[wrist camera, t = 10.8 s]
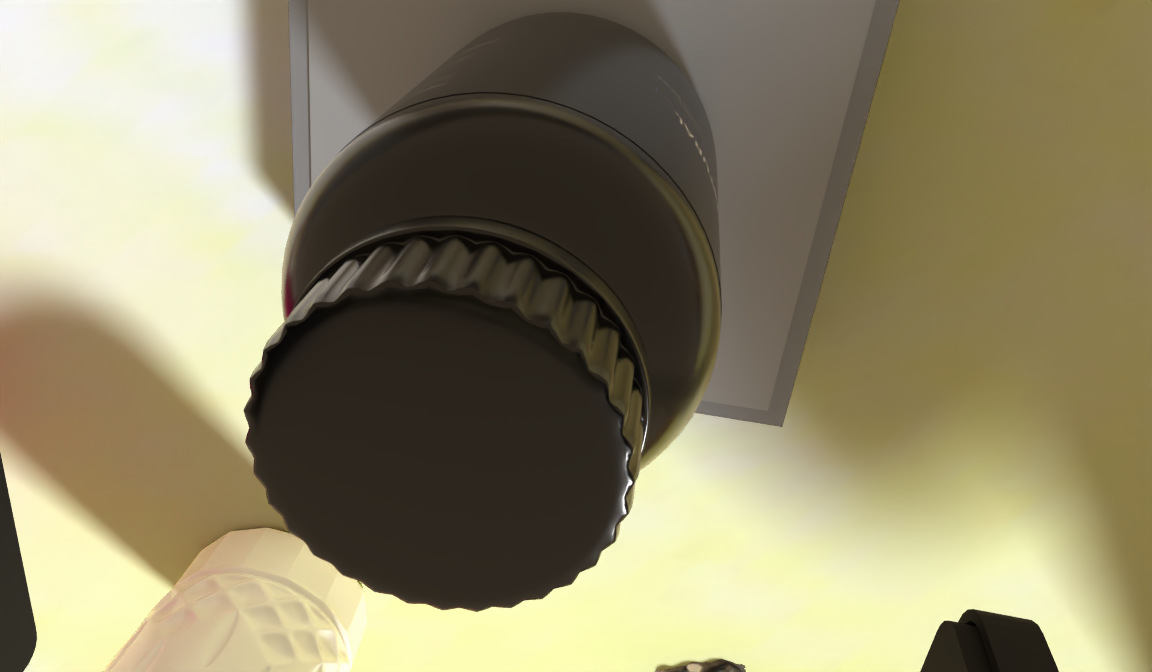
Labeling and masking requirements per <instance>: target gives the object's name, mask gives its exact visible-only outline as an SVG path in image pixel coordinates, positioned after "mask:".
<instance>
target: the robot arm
mask: <svg viewBox="0 0 1152 672" xmlns="http://www.w3.org/2000/svg"><path fill="white" fill-rule="evenodd" d="M36 641H37V632H36V627H35V622H34V617H33V612H32V607H31V602H30V597H29V592H28V587H27V582H26V577H25V572H24V567H23V562H22V557H21V553H20V548H19V543H18V538H17V533H16V528H15V523H14V518H13V513H12V508H11V503H10V498H9V493H8V488H7V483H6V478H5V473H4V469H3V464H2V459H1V454H0V672H23V671H24V670H25V668H26V667H27V665H28V664H29V662H30V660H31V658H32V656H33V653H34V650H35V647H36ZM920 672H1059V671H1058V668H1057V666H1056V663H1055V661H1054V659H1053V656H1052V654H1051V651H1050V649H1049V647H1048V644H1047V642H1046V639H1045V637H1044V635H1043V633H1042V631H1041V629H1040V628H1039V626H1038V625H1037V624H1036V623H1035V622H1033V621H1032V620H1028V619H1022V618H1017V617H1012V616H1006V615H1001V614H996V613H990V612H985V611H980V610H974V609H970V610H967V611H966V612H965V613H963V614H962V616H961V618H960V620H959V621H958V622H953V621H944V622H943V623H942V624H941V625H940V627H939V629H938V630H937V633H936V635H935V638H934V640H933V642H932V645H931V647H930V650H929V652H928V654H927V657H926V659H925V662H924V664H923V667H922V669H921V671H920Z"/></svg>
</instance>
